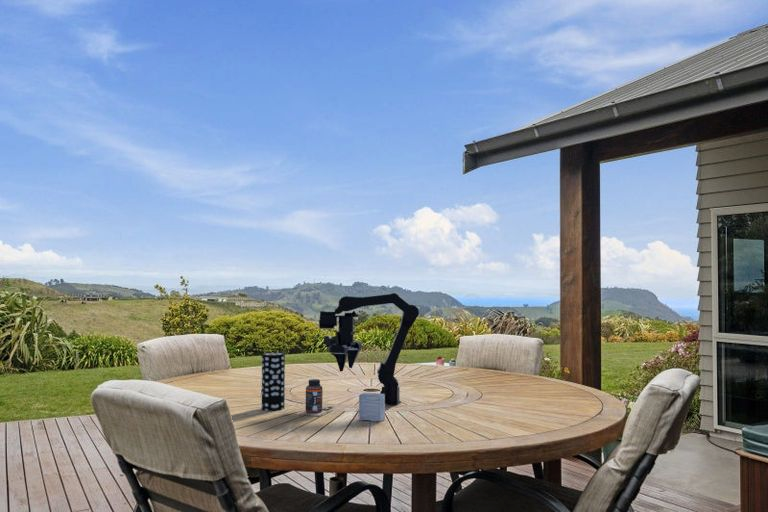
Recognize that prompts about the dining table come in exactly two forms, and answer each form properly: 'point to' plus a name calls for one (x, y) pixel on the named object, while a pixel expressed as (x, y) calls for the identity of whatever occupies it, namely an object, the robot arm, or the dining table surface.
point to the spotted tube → (273, 381)
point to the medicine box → (372, 406)
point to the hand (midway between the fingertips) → (346, 369)
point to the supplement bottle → (314, 396)
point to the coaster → (313, 413)
